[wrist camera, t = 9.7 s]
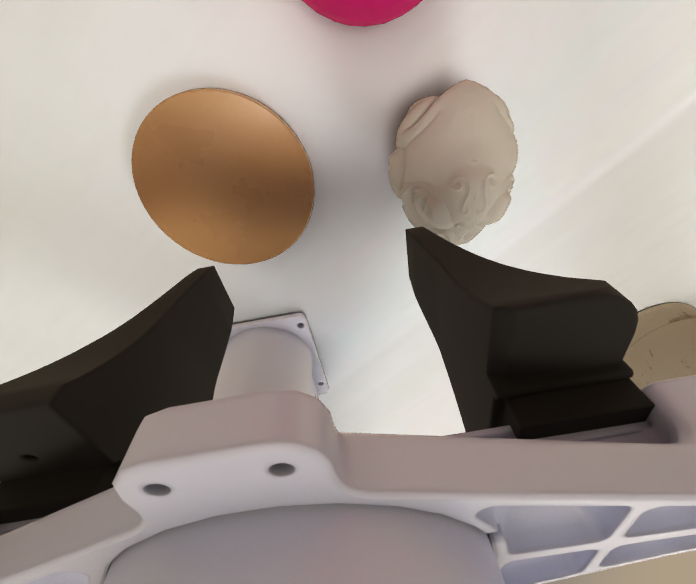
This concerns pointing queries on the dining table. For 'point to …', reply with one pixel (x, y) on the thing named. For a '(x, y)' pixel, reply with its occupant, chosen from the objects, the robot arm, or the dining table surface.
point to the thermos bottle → (663, 344)
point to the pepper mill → (362, 10)
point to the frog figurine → (455, 161)
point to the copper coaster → (223, 176)
